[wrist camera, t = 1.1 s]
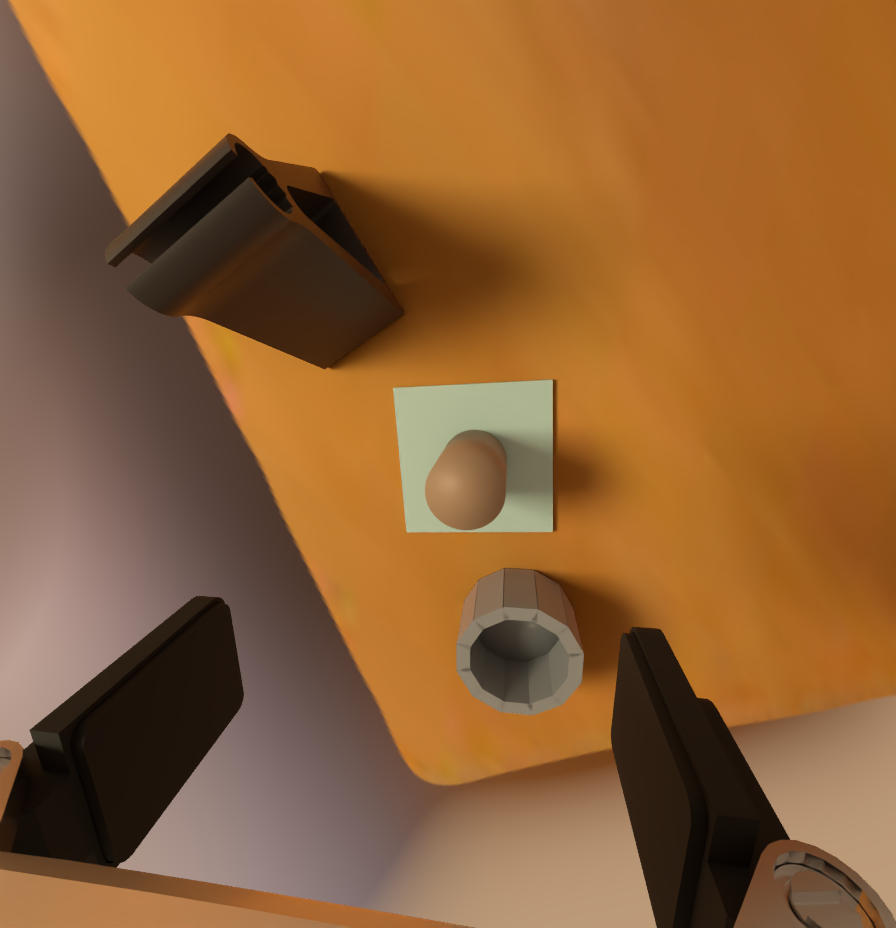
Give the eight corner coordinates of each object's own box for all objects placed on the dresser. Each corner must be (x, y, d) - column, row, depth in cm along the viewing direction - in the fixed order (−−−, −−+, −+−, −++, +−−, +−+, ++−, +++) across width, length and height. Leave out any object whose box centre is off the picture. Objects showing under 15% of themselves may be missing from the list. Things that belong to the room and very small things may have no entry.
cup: (464, 565, 30) (456, 603, 25) (575, 572, 29) (587, 613, 24) (464, 657, 32) (456, 707, 27) (568, 666, 31) (578, 719, 26)
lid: (395, 387, 27) (361, 400, 21) (551, 379, 26) (564, 390, 20) (408, 528, 30) (381, 578, 24) (552, 528, 28) (563, 580, 22)
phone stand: (405, 315, 26) (322, 293, 14) (326, 369, 27) (194, 388, 16) (319, 170, 24) (150, 18, 13) (240, 235, 26) (27, 151, 14)
